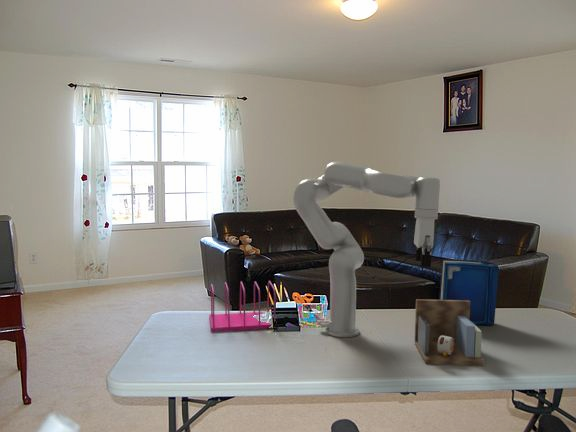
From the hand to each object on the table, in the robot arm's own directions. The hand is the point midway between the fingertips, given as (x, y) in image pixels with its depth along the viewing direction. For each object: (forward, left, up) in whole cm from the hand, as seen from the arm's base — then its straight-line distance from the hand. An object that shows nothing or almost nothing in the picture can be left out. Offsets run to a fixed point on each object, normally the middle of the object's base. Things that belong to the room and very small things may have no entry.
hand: (422, 263), depth 169 cm
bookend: (-1, -8, -27) cm, 28 cm away
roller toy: (+6, -12, -27) cm, 30 cm away
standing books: (+14, -8, -27) cm, 32 cm away
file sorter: (-65, +19, -29) cm, 74 cm away
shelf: (+7, -9, -29) cm, 31 cm away
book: (+24, +26, -29) cm, 46 cm away
